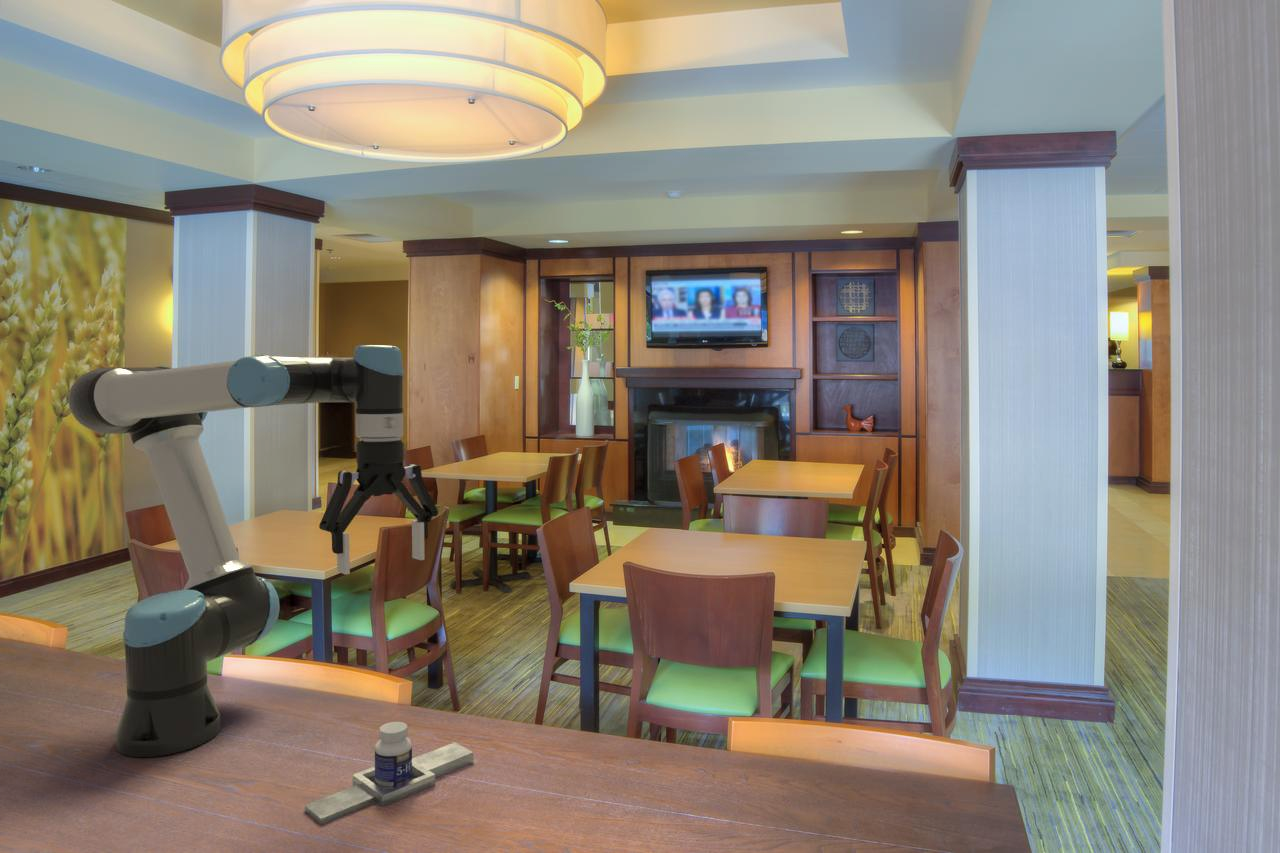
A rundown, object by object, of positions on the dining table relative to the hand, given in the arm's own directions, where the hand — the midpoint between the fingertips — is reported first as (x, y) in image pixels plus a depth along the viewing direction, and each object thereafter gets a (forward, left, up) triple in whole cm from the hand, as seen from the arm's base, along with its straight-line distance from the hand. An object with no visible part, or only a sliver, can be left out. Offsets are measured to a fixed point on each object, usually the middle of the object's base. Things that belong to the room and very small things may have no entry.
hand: (382, 565), depth 137 cm
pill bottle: (+17, -8, -29) cm, 35 cm away
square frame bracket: (+17, -8, -29) cm, 34 cm away
